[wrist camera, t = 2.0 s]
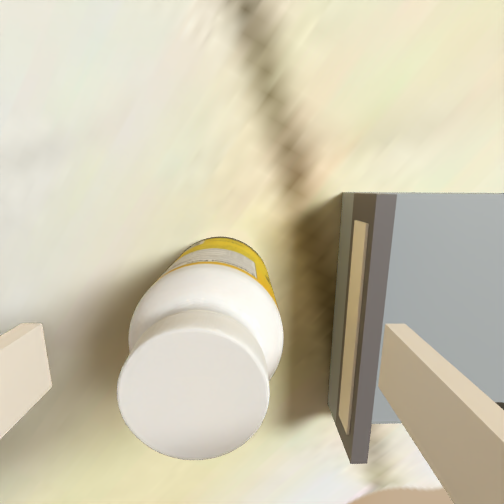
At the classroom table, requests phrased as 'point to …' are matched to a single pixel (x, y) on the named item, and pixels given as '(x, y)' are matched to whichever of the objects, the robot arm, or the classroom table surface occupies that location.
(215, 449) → the pill bottle
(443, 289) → the grey piece
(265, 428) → the classroom table surface
